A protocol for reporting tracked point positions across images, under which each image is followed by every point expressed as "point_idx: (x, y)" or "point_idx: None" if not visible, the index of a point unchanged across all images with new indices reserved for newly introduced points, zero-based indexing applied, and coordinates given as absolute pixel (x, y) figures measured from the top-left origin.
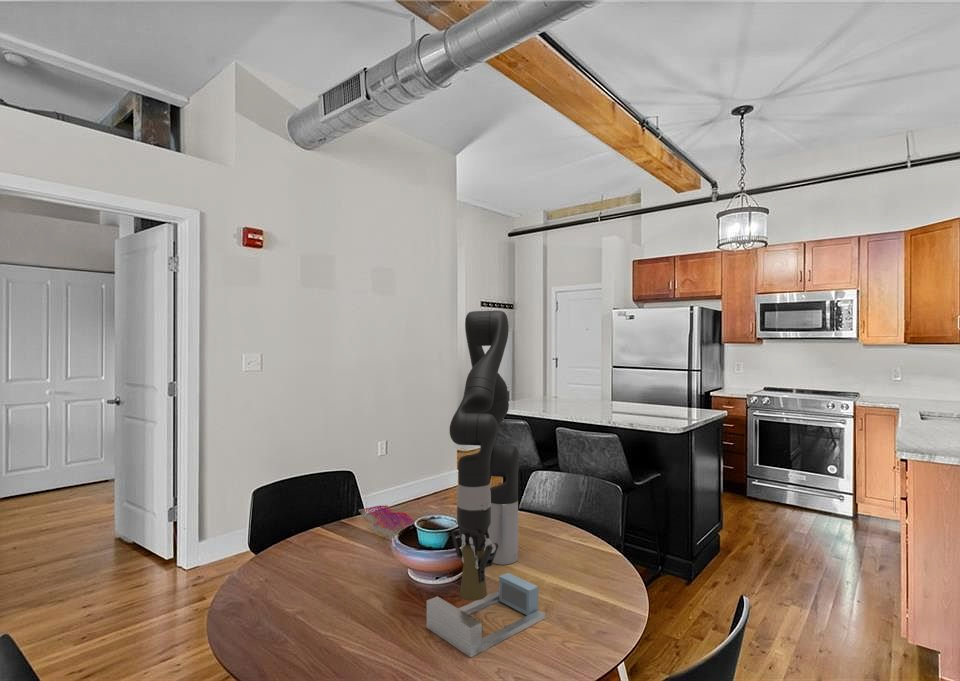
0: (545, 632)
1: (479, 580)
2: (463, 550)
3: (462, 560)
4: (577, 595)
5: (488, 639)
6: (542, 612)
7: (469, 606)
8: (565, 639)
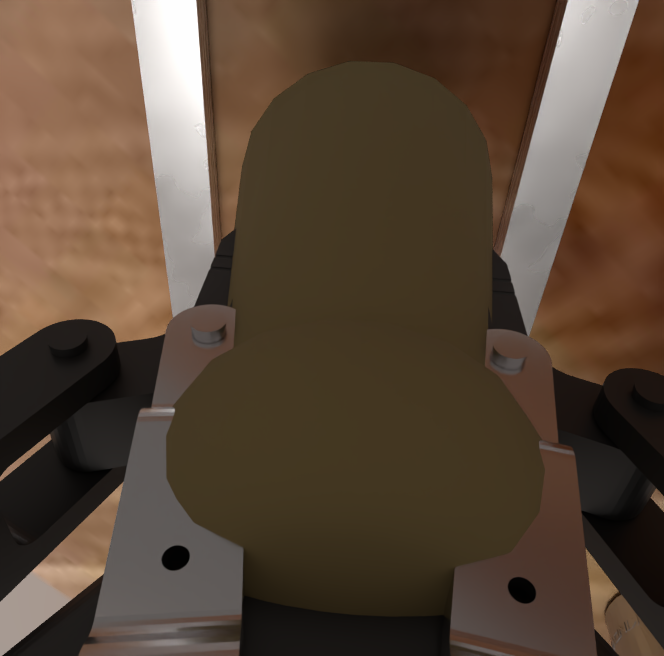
0: (98, 314)
1: (224, 247)
2: (431, 445)
3: (526, 346)
4: None
5: (161, 30)
6: None
7: (533, 233)
8: (4, 324)
